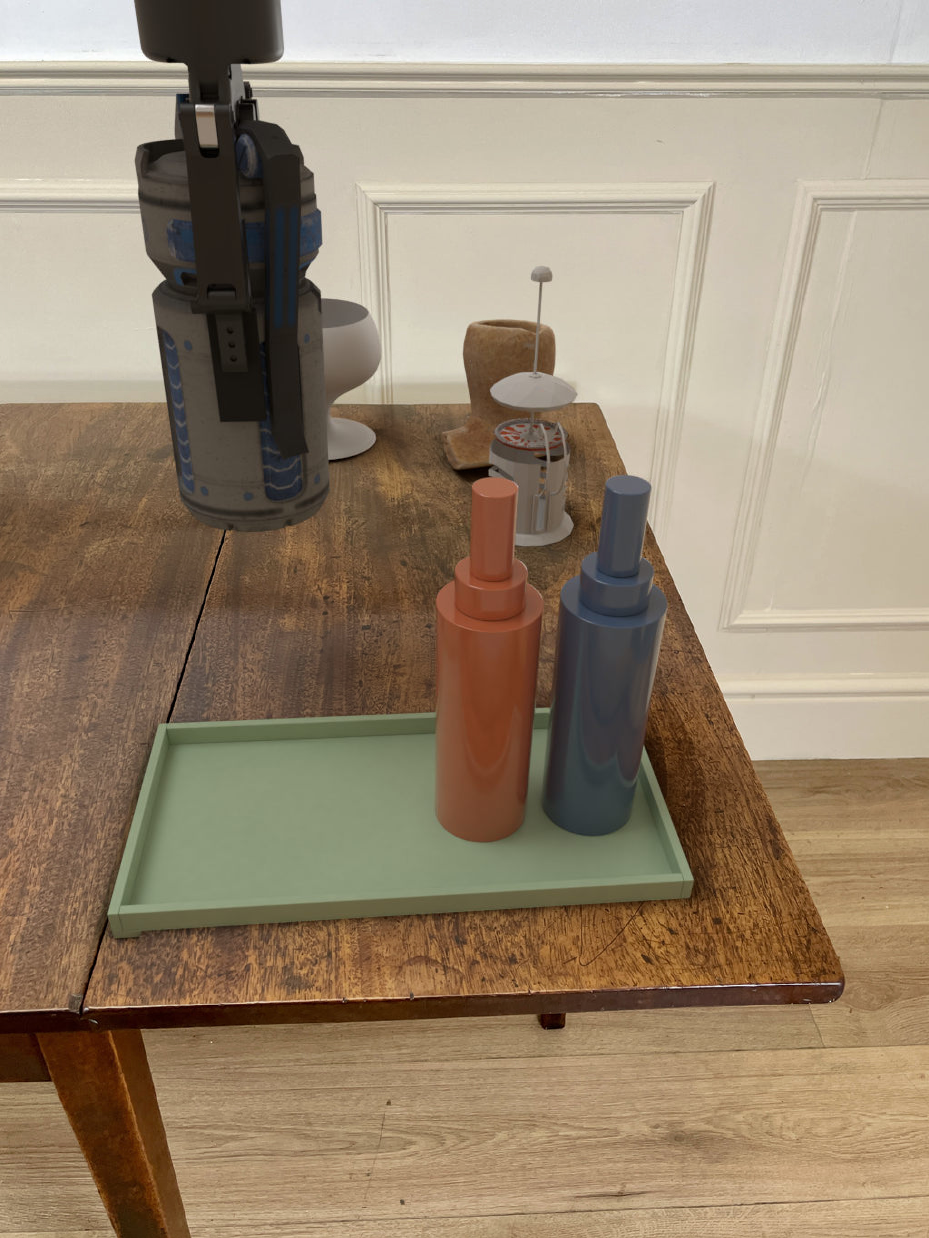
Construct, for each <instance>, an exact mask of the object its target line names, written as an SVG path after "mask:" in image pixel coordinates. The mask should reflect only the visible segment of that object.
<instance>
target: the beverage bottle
mask: <svg viewBox="0 0 929 1238" xmlns="http://www.w3.org/2000/svg"><path fill="white" fill-rule="evenodd" d="M186 98H189V92H188V93H187V92H186V93H176V95H175V111H174V138H171V139H160V140H154V141H153V140H152V141H149V142H144V143H141V144H139V145H137V146H136V151H135V155H134V166H135V172H136V174H135V175H136V181H137V196H138V197H137V198H138V204H139V211H140V213H139V214H140V218H141V228H142V233H143V240H144V248H145V253H146V255H147V257H148V258H149V260H151V262H152V263H153V264H154V266H155V267H156V268H157V270H158V271H159V272H160V274H161V275H162V276H163V277H164V278H165V279H163V280H162V281H161V282H159V284H158V285H157V286H156V287H155V288H154V290H153V292H152V293H151V299H152V307H153V314H154V321H155V328H156V335H157V336H156V337H157V343H158V349H159V357H160V364H161V372H162V378H163V385H164V392H165V393H164V394H165V400H166V408H167V416H168V422H169V428H170V429H169V430H170V436H171V437H170V438H171V444H172V451H173V458H174V463H175V471H176V472H175V473H176V478H177V488H178V492H179V499H180V502H182V504H183V505H184V506H185V508H186V509H187V510H188V512H189V513H190V514H191V515H192V517H193V518H194V519H195V520H197V521H198V522H199V523H201V524H203V525H206V526H208V527H211V528H213V529H218V530H222V531H227V532H231V531H235V533H261V532H262V533H263V532H270V531H278V530H281V529H285V528H286V527H293V526H296V525H299V524H301V523H303V522H305V521H307V520H309V519H311V518H313V516H315V515H316V514H317V513H318V512H319V511H320V510H321V508H322V507H323V505H324V503H325V501H326V499H327V498H328V496H329V493H330V489H331V488H330V485H331V484H330V467H329V460H328V441H327V418H326V396H325V374H324V351H323V329H322V306H321V298H322V290H321V289H320V288H319V287H318V286H317V285H316V284H315V283H314V282H313V281H312V280H311V279H309V278H307V276H306V275H307V271H308V269H309V267H310V266H311V264H312V263H313V262H314V261H315V260H316V258H317V256H318V255H319V253H320V248H321V247H322V245H323V226H322V225H323V224H322V223H323V222H322V211H321V210H320V209H319V208H318V205H317V203H318V202H317V199H318V198H317V194H316V190H315V189H316V188H315V172H313V171H312V170H311V169H310V168H309V167H307V166H306V165H305V157H304V155H303V152H302V149H301V147H300V145H299V144H295V143H292V141H291V140H290V137H289V136H288V134H287V133H286V130H285V129H284V128H282V127H281V126H280V125H278V124H277V123H273V122H268V121H265V120H261V119H259V120H245V121H242V122H241V123H240V124H238V125H237V126H236V128H235V135H236V141H235V142H236V143H237V144H236V153H237V165H238V167H239V169H240V171H239V170H238V177H239V191H240V204H241V217H242V220H243V219H245V230H246V240H247V250H248V259H249V266H250V286H251V297H253V305H254V306H253V307H252V308H256V314H257V324H258V334H259V344H260V353H261V363H262V373H263V383H264V393H265V402H266V412H267V419H266V421H251V422H220V417H219V409H218V401H217V394H216V386H215V379H214V371H213V363H212V356H211V348H210V341H209V333H208V325H207V318H206V314H192V311H191V306H190V300H196V299H197V295H198V286H197V275H196V264H195V252H194V241H193V230H192V219H191V208H190V197H189V186H188V175H187V164H186V154H185V146H184V139H183V132H182V128H181V125H180V121H179V117H178V110H180V109H179V105H180V102H186ZM242 228H243V226H242ZM215 287H234V286H233V285H232V284H216V285H215Z"/></svg>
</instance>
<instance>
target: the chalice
mask: <svg viewBox="0 0 929 1238" xmlns="http://www.w3.org/2000/svg"><path fill="white" fill-rule="evenodd" d="M321 306H322V329H323V351H324V374H325V396H326V418H327V441H328V461H330V460H338V459H339V460H340V459H344V458H350V457H352V456H356V455H359V454H362V453H363V452H365V451H367V450H369V449H370V448H371V447H372V446H373V445H374V444H375V443H376V440H377V436H376V433H375V432H374V431H373V429H372V428H370V427H369V426H367V425H366V424H364V423H362V422H359V421H357V420H353V419H349V418H342V417H332V416H331V410H332V407H333V405H334V403H335V401H337V399H339V398H340V397H341V396H343V395H345V394H347V393H349V392H350V391H353V390H354V389H357V388H358V387H360V386H362V385H364V384H365V383H366V382H368V381H369V380H370V379H371V378H372V377H373V376H375V374H376V372H377V371H378V369H379V365H380V363H381V360H382V344H381V339H380V334H379V330H378V328H377V325H376V323H375V322H376V321H375V320H374V317H373V316H372V314H371V312H370V311H369V309H368V308H366V307H365V306H364V305H362V304H359V303H357V302H354V301H349V300H345V299H338V298H327V297H326V298H325V297H323V298H322V297H321Z"/></svg>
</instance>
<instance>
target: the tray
mask: <svg viewBox="0 0 929 1238" xmlns="http://www.w3.org/2000/svg"><path fill="white" fill-rule="evenodd" d="M548 717H549V707H535V718H534V730H533V742H532V754H531V766H530V778H529V790H528V801H527V813H526V818H525V820H524V822H523V824H522V825H521V827H520V828H519V829H518V830H517V831H516V832H514V833H513V834H511V835H510V836H508V837H506V838H504V839H501V840H497V841H493V842H472V841H467V840H464V839H461V838H458V837H456V836H454V835H452V834H451V833H449V832H448V831H447V830H446V829H444V828H443V827H442V825H441V824H440V823H439V821H438V819H437V817H436V814H435V711H434V712H412V713H411V712H409V713H386V714H361V715H360V714H359V715H337V716H315V717H313V716H309V717H290V718H261V719H244V720H242V719H241V720H240V719H239V720H218V721H217V720H215V721H213V720H212V721H193V722H192V721H191V722H189V721H188V722H170V723H168V722H165V723H164V722H163V723H158V726H157V729H156V732H155V736H154V740H153V744H152V748H151V751H150V756H149V758H148V762H147V765H146V768H145V769H146V770H145V773H144V776H143V781H142V785H141V788H140V791H139V796H138V799H137V803H136V807H135V810H134V814H133V818H132V822H131V825H130V828H129V832H128V835H127V836H128V837H127V840H126V844H125V847H124V851H123V855H122V859H121V862H120V865H119V870H118V873H117V877H116V880H115V884H114V887H113V892H112V896H111V899H110V902H109V906H108V910H107V913H106V915H107V919H108V923H109V925H110V929H111V933H112V936H113V939H128V938H129V939H130V938H141V935H142V932H143V931H144V932H146V931H147V932H148V931H160V930H161V931H163V930H164V931H165V930H178V929H194V928H195V929H196V928H213V927H225V926H226V927H228V926H230V927H231V926H243V925H247V926H248V925H259V924H260V925H263V924H277V923H291V922H292V923H293V922H294V923H295V922H311V921H327V920H330V921H331V920H343V919H360V918H361V919H363V918H376V917H379V918H380V917H394V916H395V917H396V916H411V915H427V914H444V913H459V912H477V911H478V912H479V911H493V910H510V909H528V908H541V907H542V908H543V907H544V908H545V907H559V906H576V905H577V906H578V905H579V906H580V905H593V904H594V905H595V904H608V903H609V904H610V903H625V902H626V903H627V902H644V901H645V902H646V901H658V900H678V899H690V898H691V894H692V892H693V891H692V890H693V887H694V883H695V879H694V876H693V873H692V870H691V868H690V865H689V862H688V860H687V857H686V854H685V851H684V849H683V847H682V843H681V841H680V839H679V836H678V833H677V830H676V828H675V825H674V823H673V820H672V818H671V817H672V816H671V813H670V812H669V808H668V806H667V804H666V801H665V799H664V795H663V793H662V790H661V787H660V785H659V782H658V779H657V777H656V775H655V771H654V769H653V766H652V764H651V761H650V758H649V756H648V753H647V750H646V747H645V745H644V746H643V752H642V758H641V763H640V769H639V775H638V781H637V787H636V793H635V798H634V804H633V810H632V814H631V817H630V819H629V821H628V822H627V823H626V824H625V825H624V826H623V827H622V828H620V829H619V830H617V831H615V832H613V833H610V834H607V835H602V836H583V835H577V834H574V833H571V832H568V831H566V830H564V829H562V828H560V827H559V826H557V825H556V824H555V823H553V822H552V821H551V820H550V819H549V818H548V816H547V815H546V814H545V812H544V810H543V807H542V804H541V791H542V781H543V770H544V759H545V749H546V738H547V728H548Z"/></svg>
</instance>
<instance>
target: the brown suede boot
mask: <svg viewBox="0 0 929 1238" xmlns="http://www.w3.org/2000/svg"><path fill="white" fill-rule="evenodd" d="M536 332H537V321H530V320H523V319H510V318H509V319H508V318H507V319H504V318H503V319H501V318H499V319H498V318H497V319H485V320H484V319H482V320H478V321H473V322H470V324H468V326H467V328H466V331H465V334H464V335H465V336H464V339H463V346H462V359H463V367H464V373H465V375H466V376H465V377H466V383H467V388H468V395H469V400H470V411H471V412H470V415H469V418H468V420H467V422H465V423H464V424H463V425H461V426H460V427H458V428H455V429H451V430H446V431H443V432H441V433H440V436H439V439H440V442H441V443H442V445H443V452H444V453H445V455H446V458H447V461H448V463H449V465H450V466H451V468H453V470H457V471H460V470H467V469H468V470H469V469H477V468H482V467H493V466H494V464H491V463H489V453H490V444H491V443H492V441H493V439H495V438H496V437H495V434H494V432H493V431H494V430H495V428H496V427H497V426H498V425H499V424H502V423H504V422H506V421H510V420H512V419H514V420H515V419H523V418H524V419H526V418H527V419H529V418H531V412H527V411H519V410H514V409H511V408H507V407H504V406H502V405H500V404H499V403H497V402H496V401H494V399H493V397H492V395H491V392H490V389H491V388H492V387H493V385H494V384H495V383H497V382H499V381H500V380H502V379H504V378H506V377H509V376H511V375H514V374H517V373H522V372H534V363H535V348H536ZM556 344H557V343H556V335H555V333H554V330H553V329H552V328H551V327H550V326H549V325H547V324H544V323H541V322H540V328H539V343H538V358H537V372H541V373H545V374H548V375H552V376H554V374H555V369H556V355H557V354H556V353H557V351H556V350H557V349H556V346H557V345H556ZM542 415H543V412H534V419H537V420H539V419H540V420H543V416H542ZM566 442H567V443H568V441H566ZM545 456H546V457H547V455H544V454H540V453H537V452H535V454H534V457H535V458H542V457H545Z"/></svg>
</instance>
